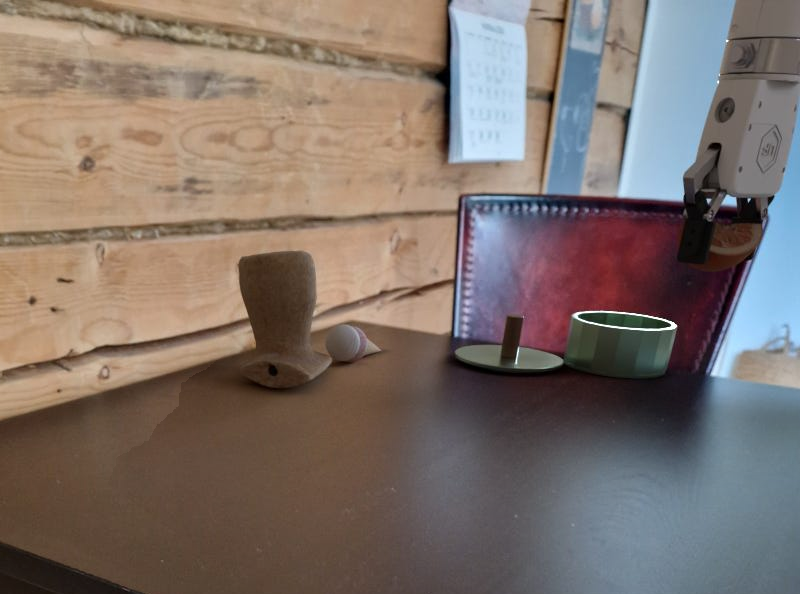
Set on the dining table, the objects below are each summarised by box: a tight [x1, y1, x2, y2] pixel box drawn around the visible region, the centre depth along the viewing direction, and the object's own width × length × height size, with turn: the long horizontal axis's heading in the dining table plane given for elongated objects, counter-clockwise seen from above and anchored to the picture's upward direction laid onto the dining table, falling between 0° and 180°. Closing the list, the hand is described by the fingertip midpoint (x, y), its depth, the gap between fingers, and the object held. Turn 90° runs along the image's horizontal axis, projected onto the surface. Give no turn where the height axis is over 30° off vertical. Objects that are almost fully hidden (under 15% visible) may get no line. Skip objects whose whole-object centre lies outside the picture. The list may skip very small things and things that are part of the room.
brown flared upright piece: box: [237, 250, 333, 389], centre depth 106 cm, size 15×12×15 cm
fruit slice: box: [676, 220, 764, 273], centre depth 91 cm, size 8×7×5 cm
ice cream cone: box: [324, 324, 383, 363], centre depth 121 cm, size 5×5×15 cm
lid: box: [454, 313, 564, 375], centre depth 122 cm, size 15×15×7 cm
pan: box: [563, 310, 678, 380], centre depth 124 cm, size 14×14×6 cm
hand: (715, 260), depth 91 cm, fingers closed on fruit slice, 8 cm apart
